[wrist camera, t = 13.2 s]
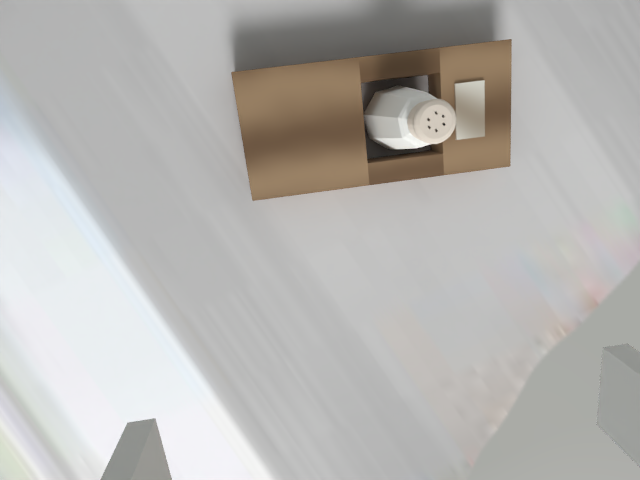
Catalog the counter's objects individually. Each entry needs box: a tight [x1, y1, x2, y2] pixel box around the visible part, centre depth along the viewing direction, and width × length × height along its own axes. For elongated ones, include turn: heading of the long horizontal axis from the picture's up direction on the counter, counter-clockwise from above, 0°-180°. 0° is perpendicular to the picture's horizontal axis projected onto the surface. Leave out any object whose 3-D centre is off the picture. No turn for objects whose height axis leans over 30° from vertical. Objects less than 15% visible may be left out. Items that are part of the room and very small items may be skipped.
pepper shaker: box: [363, 85, 456, 150], centre depth 34 cm, size 5×5×11 cm
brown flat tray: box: [231, 39, 511, 201], centre depth 37 cm, size 10×22×3 cm, turn 97°
